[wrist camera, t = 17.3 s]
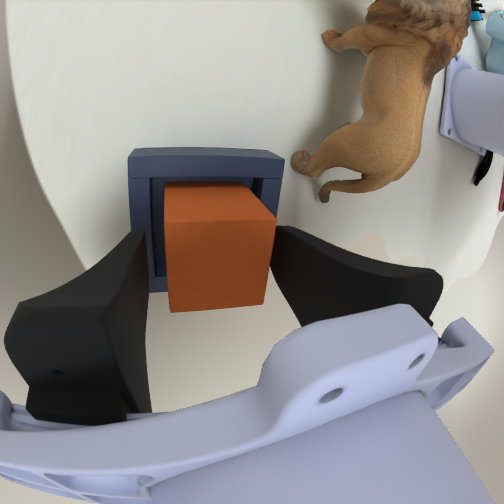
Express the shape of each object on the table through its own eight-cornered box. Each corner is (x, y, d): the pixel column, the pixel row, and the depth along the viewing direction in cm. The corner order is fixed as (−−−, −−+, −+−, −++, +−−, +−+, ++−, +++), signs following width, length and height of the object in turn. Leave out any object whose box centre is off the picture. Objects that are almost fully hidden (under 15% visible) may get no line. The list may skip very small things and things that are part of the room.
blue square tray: (267, 150, 15) (285, 159, 13) (253, 262, 18) (266, 284, 16) (134, 148, 12) (127, 157, 10) (140, 268, 16) (139, 293, 14)
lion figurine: (306, -24, 9) (414, -77, 2) (377, 4, 11) (488, -9, 3) (283, 199, 16) (377, 287, 9) (353, 200, 18) (452, 271, 11)
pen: (483, 189, 20) (477, 182, 20) (475, 187, 21) (469, 181, 21) (516, 94, 15) (510, 87, 15) (508, 96, 17) (502, 90, 17)
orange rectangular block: (242, 181, 14) (277, 218, 10) (236, 249, 16) (263, 304, 12) (164, 181, 13) (164, 221, 9) (166, 252, 15) (170, 313, 11)
